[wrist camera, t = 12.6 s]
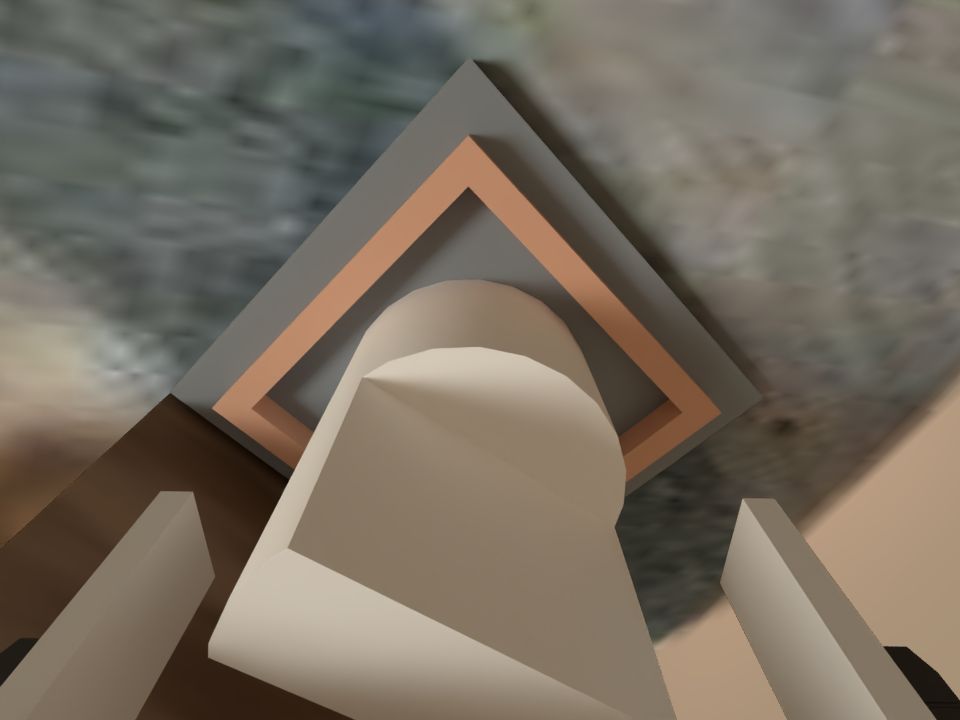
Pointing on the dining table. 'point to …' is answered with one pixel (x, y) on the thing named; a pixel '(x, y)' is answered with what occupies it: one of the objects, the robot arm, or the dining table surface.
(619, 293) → the square coaster tray
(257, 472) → the brown wooden panel
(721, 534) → the dining table surface
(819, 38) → the dining table surface
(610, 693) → the cylinder with rectangular tab
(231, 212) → the dining table surface
